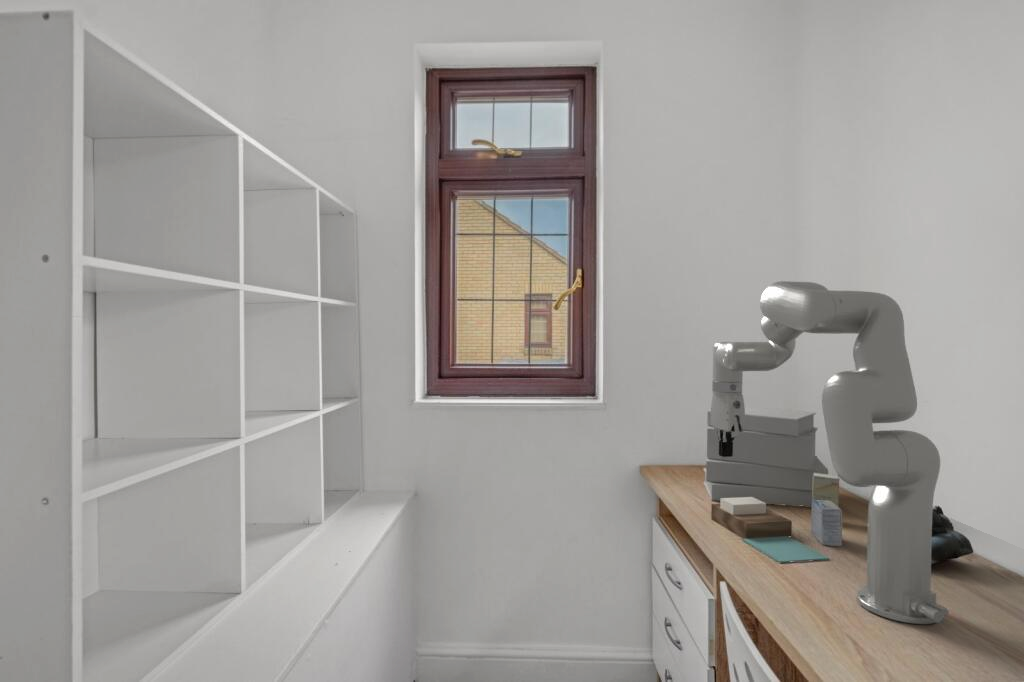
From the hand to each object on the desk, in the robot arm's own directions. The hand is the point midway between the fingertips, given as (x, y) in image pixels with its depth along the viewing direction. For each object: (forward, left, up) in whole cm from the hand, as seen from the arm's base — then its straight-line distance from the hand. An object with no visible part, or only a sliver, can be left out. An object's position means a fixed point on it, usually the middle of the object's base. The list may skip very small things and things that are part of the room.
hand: (725, 455), depth 156 cm
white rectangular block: (-8, 0, -11) cm, 14 cm away
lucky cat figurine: (-35, -26, -17) cm, 47 cm away
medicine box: (-21, -14, -17) cm, 30 cm away
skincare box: (-8, -24, -16) cm, 30 cm away
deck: (-10, -1, -16) cm, 19 cm away
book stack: (+18, -23, -17) cm, 34 cm away
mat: (-25, 0, -16) cm, 30 cm away
